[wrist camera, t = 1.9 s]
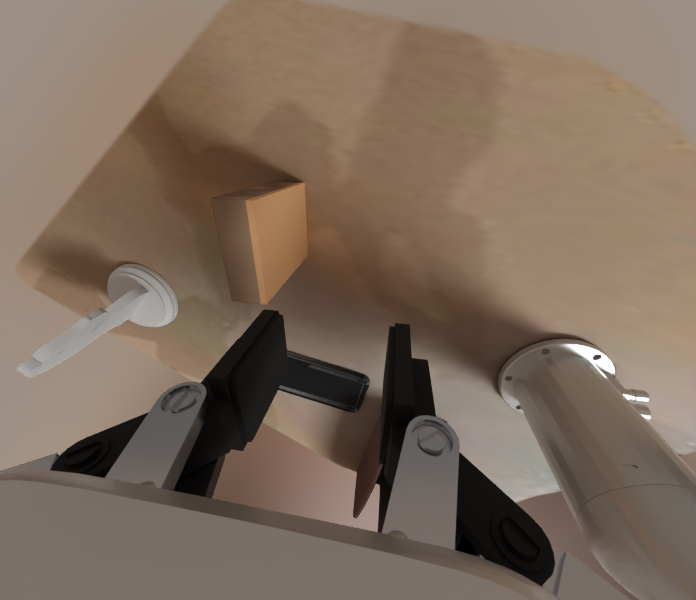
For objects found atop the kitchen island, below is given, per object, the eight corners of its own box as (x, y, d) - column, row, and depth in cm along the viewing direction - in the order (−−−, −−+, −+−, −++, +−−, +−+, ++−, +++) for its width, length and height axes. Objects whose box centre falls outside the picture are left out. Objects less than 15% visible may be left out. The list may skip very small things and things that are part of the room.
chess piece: (190, 300, 39) (86, 376, 26) (160, 334, 43) (58, 414, 30) (129, 248, 36) (-21, 304, 23) (103, 290, 41) (-35, 357, 28)
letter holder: (447, 420, 42) (468, 530, 30) (407, 485, 52) (410, 588, 40) (385, 402, 43) (379, 504, 30) (356, 471, 52) (344, 568, 40)
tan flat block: (304, 182, 29) (252, 200, 18) (308, 255, 33) (266, 304, 22) (277, 181, 29) (210, 198, 19) (284, 253, 33) (232, 300, 23)
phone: (356, 414, 44) (266, 386, 44) (357, 408, 44) (269, 381, 45) (371, 380, 40) (271, 349, 40) (372, 374, 41) (274, 344, 41)
